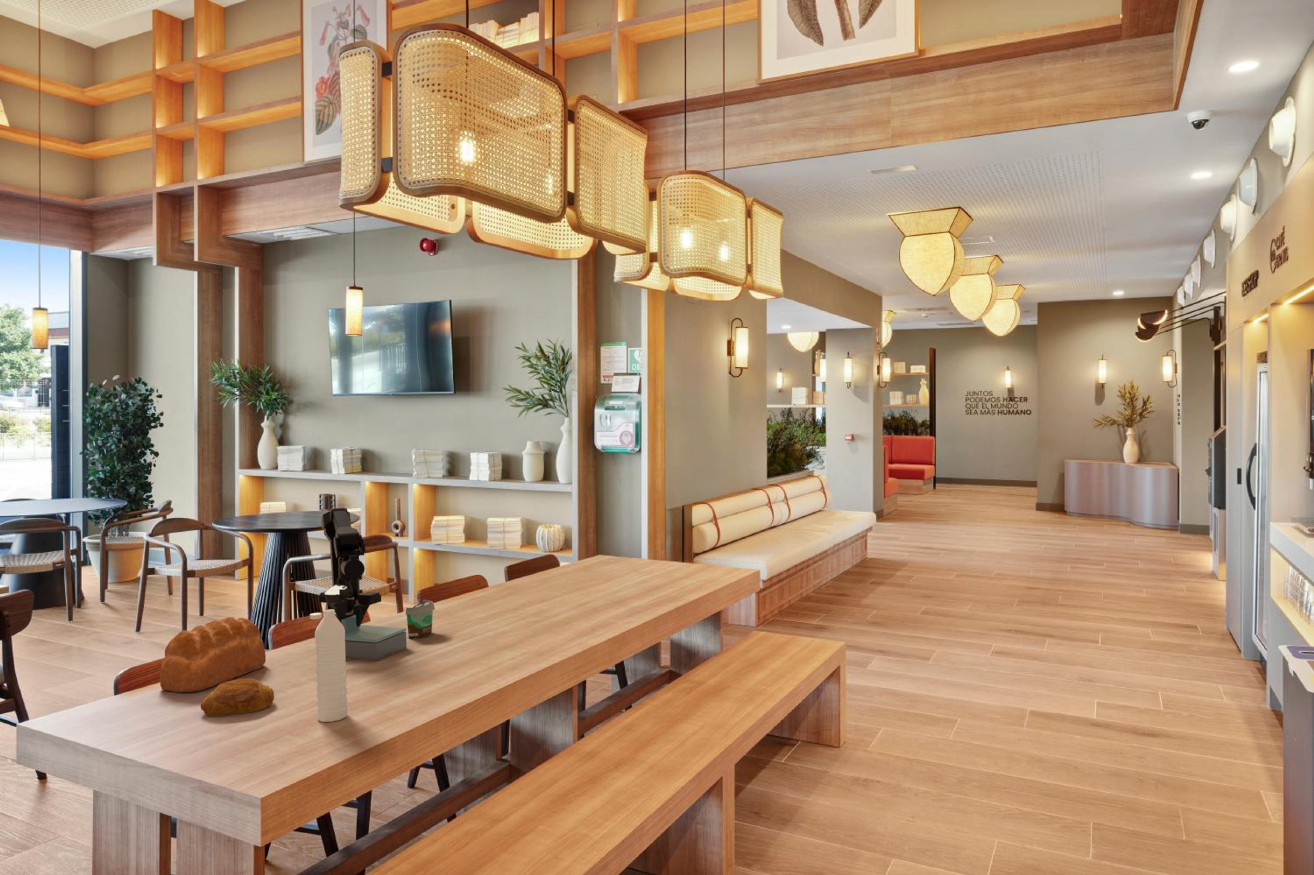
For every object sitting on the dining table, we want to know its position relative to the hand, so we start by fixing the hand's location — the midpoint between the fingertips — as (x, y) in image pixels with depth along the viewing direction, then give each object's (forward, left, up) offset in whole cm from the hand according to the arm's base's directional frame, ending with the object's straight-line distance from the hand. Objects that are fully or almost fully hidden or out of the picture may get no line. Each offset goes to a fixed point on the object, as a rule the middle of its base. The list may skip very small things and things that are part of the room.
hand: (350, 626), depth 251 cm
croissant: (+7, -49, -8) cm, 50 cm away
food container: (+11, +22, -8) cm, 26 cm away
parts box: (+7, 0, -8) cm, 10 cm away
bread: (-19, -32, -8) cm, 38 cm away
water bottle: (+35, -50, -8) cm, 61 cm away
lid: (+7, 0, -2) cm, 7 cm away
